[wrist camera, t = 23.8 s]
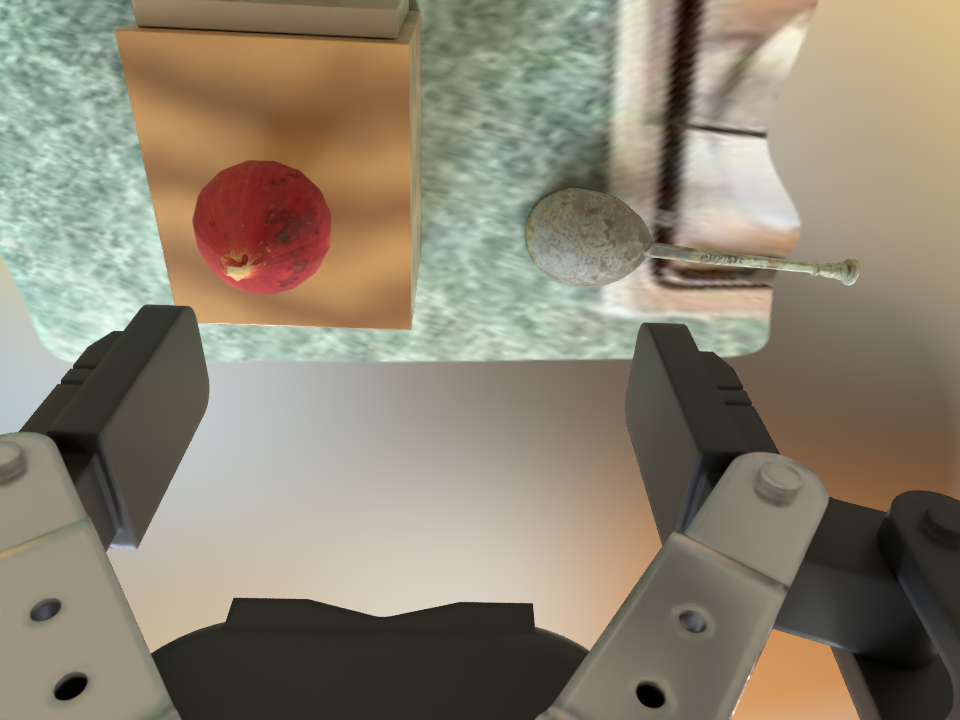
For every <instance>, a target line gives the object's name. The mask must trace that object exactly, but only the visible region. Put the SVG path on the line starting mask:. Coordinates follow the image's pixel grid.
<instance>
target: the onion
mask: <svg viewBox="0 0 960 720" xmlns="http://www.w3.org/2000/svg"><path fill="white" fill-rule="evenodd" d="M192 222H193V228H194V233H195V238H196V243H197V248H198V250H199V252H200V254H201V255H202V257H203V259H204V260H205V262H206V264H207V265H208V267H209V268H210V270H211V271H212V272H214V273H215V274H216V275H217V276H218V277H220V278H221V279H222V280H223V281H225V282H226V283H227V284H229V285H231V286H233V287H235V288H238V289H240V290H242V291H245V292H247V293H252V294H264V295H274V294H277V293H281V292H284V291H288V290H291V289H294V288H296V287H297V286H299V285H300V284H301V283H303V282H304V281H306V280H307V279H308V278H310V277H311V276H312V275H314V274H315V273H316V271H317V270H318V269H319V267H320V266H321V264H322V262H323V260H324V258H325V256H326V254H327V252H328V250H329V248H330V236H331V212H330V210H329V208H328V205H327V203H326V201H325V199H324V196H323V194H322V192H321V190H320V189H319V188H318V187H317V186H316V185H315V184H314V183H313V182H312V181H311V180H309V179H308V178H307V177H306V176H305V175H304V174H303V173H302V172H301V171H300V170H297V169H294V168H292V167H289V166H286V165H283V164H281V163H278V162H275V161H257V160H248V161H245V162H243V163H240V164H237V165H234V166H231V167H229V168H226V169H224V170H222V171H220V172H219V173H218V174H217V175H216V176H215V177H214V178H213V179H212V180H211V181H210V182H209V183H208V184H207V185H206V186H205V187H204V188H203V189H202V190H201V192H200V194H199V196H198V198H197V203H196V207H195V211H194V215H193V219H192Z"/></svg>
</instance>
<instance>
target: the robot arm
mask: <svg viewBox="0 0 960 720" xmlns="http://www.w3.org/2000/svg"><path fill="white" fill-rule="evenodd" d="M208 399H209V378H208V373H207V367H206V362H205V357H204V352H203V348H202V343H201V338H200V333H199V328H198V323H197V318H196V315H195V312H194V310H193V309H192V308H191V307H190V306H176V305H144V306H143V307H142V308H141V309H140V310H139V312H138V313H137V314H136V315H135V317H134V318H133V319H132V321H131V322H130V323H129V325H128V326H127V327H126V328H125V330H124V331H113V332H111V333H110V334H108V335H106V336H105V337H103V338H101V339H100V340H98V341H97V342H95V343H93V344H92V345H90V346H89V347H88V348H87V349H86V350H85V351H84V353H83V354H82V355H81V356H80V357H79V359H78V360H77V361H76V362H75V364H74V365H73V369H70V370H69V371H68V372H67V374H66V375H65V376H64V377H63V378H62V380H61V384H57V386H56V387H55V388H54V389H53V390H52V392H51V393H50V394H49V395H48V397H47V398H46V399H45V400H44V402H43V403H42V404H41V405H40V406H39V408H38V409H37V410H36V411H35V412H34V414H33V415H32V416H31V417H30V419H29V420H28V421H27V422H26V423H25V425H24V426H23V427H22V429H21V430H20V431H19V432H15V433H8V434H3V435H0V720H731V719H732V717H733V714H734V712H735V710H736V708H737V706H738V703H739V701H740V699H741V697H742V695H743V692H744V690H745V688H746V686H747V684H748V682H749V679H750V677H751V675H752V673H753V670H754V668H755V666H756V664H757V662H758V659H759V657H760V655H761V653H762V651H763V649H764V646H765V644H766V642H767V640H768V638H769V636H770V633H771V631H772V629H776V630H779V631H782V632H786V633H789V634H792V635H796V636H799V637H802V638H806V639H809V640H812V641H816V642H819V643H822V644H826V645H829V646H830V647H831V649H832V652H833V654H834V656H835V659H836V662H837V664H838V666H839V669H840V671H841V674H842V676H843V679H844V681H845V684H846V686H847V688H848V691H849V693H850V696H851V698H852V701H853V703H854V705H855V708H856V711H857V713H858V716H859V718H860V720H960V501H959V500H956V499H954V498H952V497H949V496H946V495H943V494H939V493H935V492H930V491H908V492H904V493H901V494H900V495H898V496H896V498H895V499H894V500H893V502H892V503H891V505H890V507H889V509H888V511H887V512H883V511H879V510H875V509H871V508H867V507H863V506H859V505H856V504H851V503H848V502H844V501H840V500H837V499H834V498H831V497H829V495H828V492H827V489H826V487H825V485H824V483H823V482H822V481H821V479H820V478H819V477H818V476H817V475H816V474H815V473H814V472H813V471H811V470H810V469H809V468H807V467H805V466H804V465H802V464H801V463H799V462H797V461H795V460H793V459H790V458H787V457H785V456H782V455H780V453H779V451H778V450H777V448H776V446H775V444H774V442H773V440H772V439H771V437H770V435H769V433H768V431H767V429H766V428H765V426H764V424H763V422H762V420H761V418H760V417H759V415H758V413H757V411H756V409H755V408H754V407H753V406H751V404H752V402H751V400H750V398H749V397H748V395H747V393H746V391H743V386H742V384H741V382H740V380H739V378H738V377H737V375H736V373H735V371H734V369H733V368H732V367H731V366H729V365H728V364H727V363H726V362H724V361H723V360H722V359H721V358H720V357H719V356H717V355H716V354H715V353H714V352H703V351H699V350H698V348H697V346H696V344H695V342H694V340H693V338H692V336H691V334H690V332H689V330H688V328H687V326H686V325H685V324H671V323H643V324H642V325H641V327H640V329H639V332H638V337H637V342H636V347H635V352H634V357H633V362H632V366H631V372H630V376H629V382H628V387H627V392H626V400H625V414H626V423H627V427H628V431H629V434H630V437H631V441H632V444H633V448H634V451H635V455H636V458H637V461H638V465H639V468H640V472H641V475H642V478H643V482H644V485H645V489H646V492H647V496H648V499H649V502H650V506H651V509H652V512H653V516H654V519H655V523H656V526H657V530H658V533H659V536H660V540H661V543H662V548H661V549H660V550H659V552H658V553H657V555H656V556H655V558H654V559H653V561H652V562H651V564H650V565H649V566H648V568H647V569H646V571H645V572H644V574H643V575H642V577H641V578H640V579H639V581H638V582H637V584H636V585H635V587H634V588H633V590H632V591H631V592H630V594H629V595H628V597H627V598H626V600H625V601H624V602H623V604H622V605H621V607H620V608H619V610H618V611H617V613H616V614H615V615H614V617H613V618H612V620H611V621H610V623H609V624H608V626H607V627H606V629H605V630H604V631H603V633H602V634H601V636H600V637H599V639H598V640H597V642H596V643H595V644H594V646H593V647H592V649H591V650H590V651H589V650H587V649H586V648H584V647H583V646H581V645H580V644H578V643H576V642H573V641H572V640H570V639H568V638H566V637H564V636H561V635H559V634H556V633H553V632H551V631H548V630H545V629H541V628H538V627H535V623H534V612H533V604H532V603H530V604H529V603H482V602H481V603H479V602H459V603H453V604H449V605H443V606H439V607H434V608H429V609H424V610H419V611H414V612H409V613H405V614H400V615H395V616H390V617H377V616H372V615H368V614H364V613H360V612H356V611H352V610H348V609H345V608H340V607H336V606H332V605H328V604H325V603H321V602H317V601H313V600H309V599H270V598H269V599H267V598H233V601H232V604H231V607H230V610H229V613H228V616H227V620H226V622H224V623H219V624H215V625H212V626H209V627H205V628H202V629H199V630H196V631H194V632H191V633H189V634H187V635H184V636H182V637H179V638H178V639H176V640H174V641H172V642H170V643H168V644H166V645H164V646H162V647H161V648H159V649H157V650H156V651H154V652H153V653H150V651H149V649H148V647H147V645H146V642H145V640H144V638H143V635H142V633H141V631H140V628H139V626H138V624H137V622H136V620H135V617H134V615H133V613H132V610H131V608H130V606H129V604H128V601H127V599H126V597H125V594H124V592H123V590H122V588H121V585H120V583H119V581H118V579H117V576H116V574H115V572H114V570H113V567H112V565H111V563H110V561H109V558H108V556H107V554H106V552H107V550H108V548H119V549H121V548H122V549H138V547H139V545H140V542H141V540H142V538H143V536H144V534H145V532H146V530H147V528H148V526H149V524H150V522H151V520H152V518H153V516H154V514H155V512H156V510H157V508H158V506H159V504H160V502H161V500H162V498H163V496H164V494H165V492H166V490H167V488H168V486H169V484H170V482H171V480H172V478H173V476H174V474H175V472H176V470H177V468H178V466H179V464H180V462H181V460H182V458H183V456H184V454H185V452H186V450H187V448H188V446H189V444H190V442H191V440H192V438H193V436H194V433H195V432H196V430H197V428H198V426H199V424H200V422H201V420H202V418H203V416H204V414H205V411H206V408H207V404H208Z"/></svg>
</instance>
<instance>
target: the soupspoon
mask: <svg viewBox="0 0 960 720" xmlns="http://www.w3.org/2000/svg"><path fill="white" fill-rule="evenodd" d="M525 237H526V244H527V249H528V252H529V254H530V256H531V258H532V260H533V261H534V263H535V264H536V266H537V267H538V268H539V269H540V270H541V271H542V272H543V273H545V274H546V275H547V276H549V277H551V278H552V279H554V280H556V281H558V282H561V283H564V284H568V285H571V286H577V287H597V286H603V285H607V284H610V283H613V282H616V281H618V280H620V279H622V278H623V277H625V276H627V275H628V274H630V273H631V272H633V271H634V270H635V269H636V268H637V267H638V266H639V265H640V264H641V263H642V262H643V261H644V260H645V259H646V258H648V257H651V258H653V257H655V258H662V259H671V260H680V261H687V262H696V263H706V264H717V265H726V266H729V265H731V266H738V267H740V266H742V267H756V268H767V269H777V270H787V271H799V272H809V273H810V274H811V275H812V276H816V275H818V274H820V275H822V276H824V277H830V278H835V279H838V280H840V281H841V282H842V283H844V284H845V285H852V284H854V282H855V281H856V280H857V277H858V275H859V272H860V265H859V262H858V261H857V260H854V259H847V260H845V261H844V262H843V263H838V264H833V263H826V264H824V265H822V264H821V263H819V262H814V263H805V262H798V261H791V260H784V259H776V258H768V257H759V256H750V255H741V254H731V253H721V252H713V251H706V250H699V249H693V248H688V247H681V246H674V245H668V244H662V243H656V242H653V241H652V239H651V237H650V234H649V231H648V228H647V226H646V225H645V223H644V221H643V220H642V219H641V217H640V216H639V215H638V214H636V213H635V212H634V211H633V210H632V209H631V208H630V207H629V206H628V205H626V204H625V203H624V202H622V201H621V200H619V199H617V198H615V197H612V196H610V195H609V194H606V193H603V192H597V191H592V190H586V189H580V188H567V189H563V190H560V191H558V192H555V193H553V194H550V195H548V196H547V197H545V198H544V199H542V200H541V201H540V202H539V203H538V204H537V205H536V206H535V208H534V209H533V211H532V212H531V214H530V215H529V217H528V220H527V225H526V230H525Z"/></svg>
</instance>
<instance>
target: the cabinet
mask: <svg viewBox="0 0 960 720" xmlns="http://www.w3.org/2000/svg"><path fill="white" fill-rule="evenodd" d="M219 31H220V30H199V29H179V28H159V27H139V26H137V24H136V21H135V22H133V23H130V24H128V25H125V26H123V27H121V28H118V29H116V30H115V34H116V38H117V43H118V47H119V52H120V57H121V61H122V66H123V70H124V75H125V79H126V84H127V89H128V93H129V98H130V102H131V107H132V112H133V116H134V121H135V125H136V130H137V134H138V139H139V144H140V148H141V153H142V157H143V162H144V167H145V171H146V176H147V180H148V185H149V189H150V194H151V199H152V203H153V208H154V212H155V217H156V222H157V226H158V231H159V235H160V240H161V244H162V249H163V254H164V258H165V263H166V267H167V272H168V276H169V281H170V286H171V290H172V295H173V299H174V304H175V305H176V306H190V307H191V308H192V309H193V310H194V312H195V315H196V318H197V323H215V324H245V325H275V326H305V327H335V328H365V329H395V330H411V327H412V319H413V311H414V303H415V296H416V288H417V280H418V272H419V264H420V256H421V11H409V13H408V15H407V17H406V19H405V22H404V24H403V26H402V28H401V30H400V33H399V35H398V37H397V39H392V40H382V39H383V38H371V39H362V37H351V38H341V37H342V36H330V37H321V36H322V35H310V36H301V34H290V35H280V34H281V33H269V34H260V33H261V32H249V33H239V32H240V31H228V32H219ZM248 160H257V161H275V162H278V163H281V164H283V165H286V166H289V167H292V168H294V169H297V170H300V171H301V172H302V173H303V174H304V175H305V176H306V177H307V178H308V179H309V180H311V181H312V182H313V183H314V184H315V185H316V186H317V187H318V188H319V189H320V190H321V192H322V194H323V196H324V199H325V201H326V203H327V205H328V208H329V210H330V212H331V236H330V248H329V250H328V252H327V254H326V256H325V258H324V260H323V262H322V264H321V266H320V267H319V269H318V270H317V271H316V273H315V274H314V275H312V276H311V277H310V278H308V279H307V280H306V281H304V282H303V283H301V284H300V285H299V286H297V287H296V288H294V289H291V290H288V291H284V292H281V293H277V294H274V295H264V294H252V293H247V292H245V291H242V290H240V289H238V288H235V287H233V286H231V285H229V284H227V283H226V282H225V281H223V280H222V279H221V278H220V277H218V276H217V275H216V274H215V273H214V272H212V271H211V270H210V268H209V267H208V265H207V264H206V262H205V260H204V259H203V257H202V255H201V254H200V252H199V250H198V248H197V243H196V238H195V233H194V228H193V222H192V219H193V215H194V211H195V207H196V203H197V198H198V196H199V194H200V192H201V190H202V189H203V188H204V187H205V186H206V185H207V184H208V183H209V182H210V181H211V180H212V179H213V178H214V177H215V176H216V175H217V174H218V173H219V172H220V171H222V170H224V169H226V168H229V167H231V166H234V165H237V164H240V163H243V162H245V161H248Z"/></svg>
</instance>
